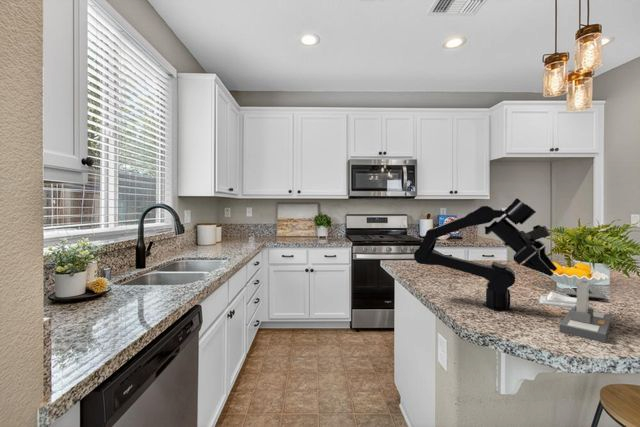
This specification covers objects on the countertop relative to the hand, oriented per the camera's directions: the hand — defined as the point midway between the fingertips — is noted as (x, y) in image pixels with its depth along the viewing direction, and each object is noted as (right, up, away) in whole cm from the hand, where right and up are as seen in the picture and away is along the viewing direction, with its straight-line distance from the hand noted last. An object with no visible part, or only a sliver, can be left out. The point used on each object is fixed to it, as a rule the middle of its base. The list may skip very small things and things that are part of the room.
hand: (554, 272), depth 93 cm
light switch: (+14, -14, +15) cm, 25 cm away
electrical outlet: (+29, -14, +24) cm, 40 cm away
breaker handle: (+4, -10, -6) cm, 12 cm away
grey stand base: (+4, -14, -6) cm, 16 cm away
